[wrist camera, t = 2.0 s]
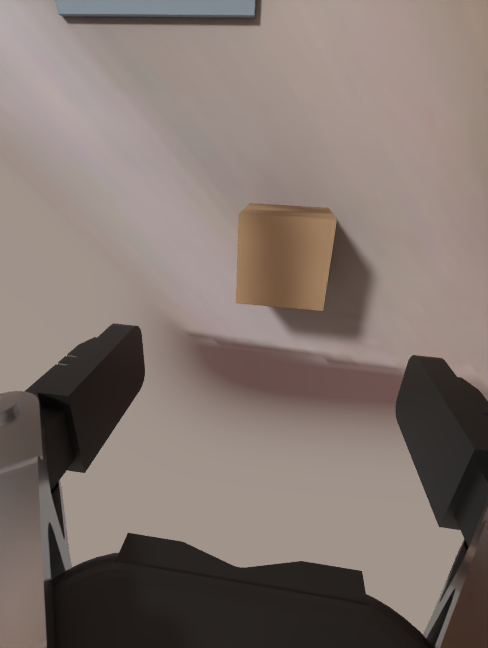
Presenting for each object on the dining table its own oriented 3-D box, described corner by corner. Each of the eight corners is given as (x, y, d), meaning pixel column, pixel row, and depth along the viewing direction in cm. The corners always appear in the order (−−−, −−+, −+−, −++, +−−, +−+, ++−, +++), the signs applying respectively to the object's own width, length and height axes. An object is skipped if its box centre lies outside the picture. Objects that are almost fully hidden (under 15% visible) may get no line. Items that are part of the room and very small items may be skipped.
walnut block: (328, 207, 24) (336, 220, 19) (317, 282, 26) (323, 310, 22) (250, 203, 25) (238, 213, 20) (246, 277, 27) (236, 303, 22)
